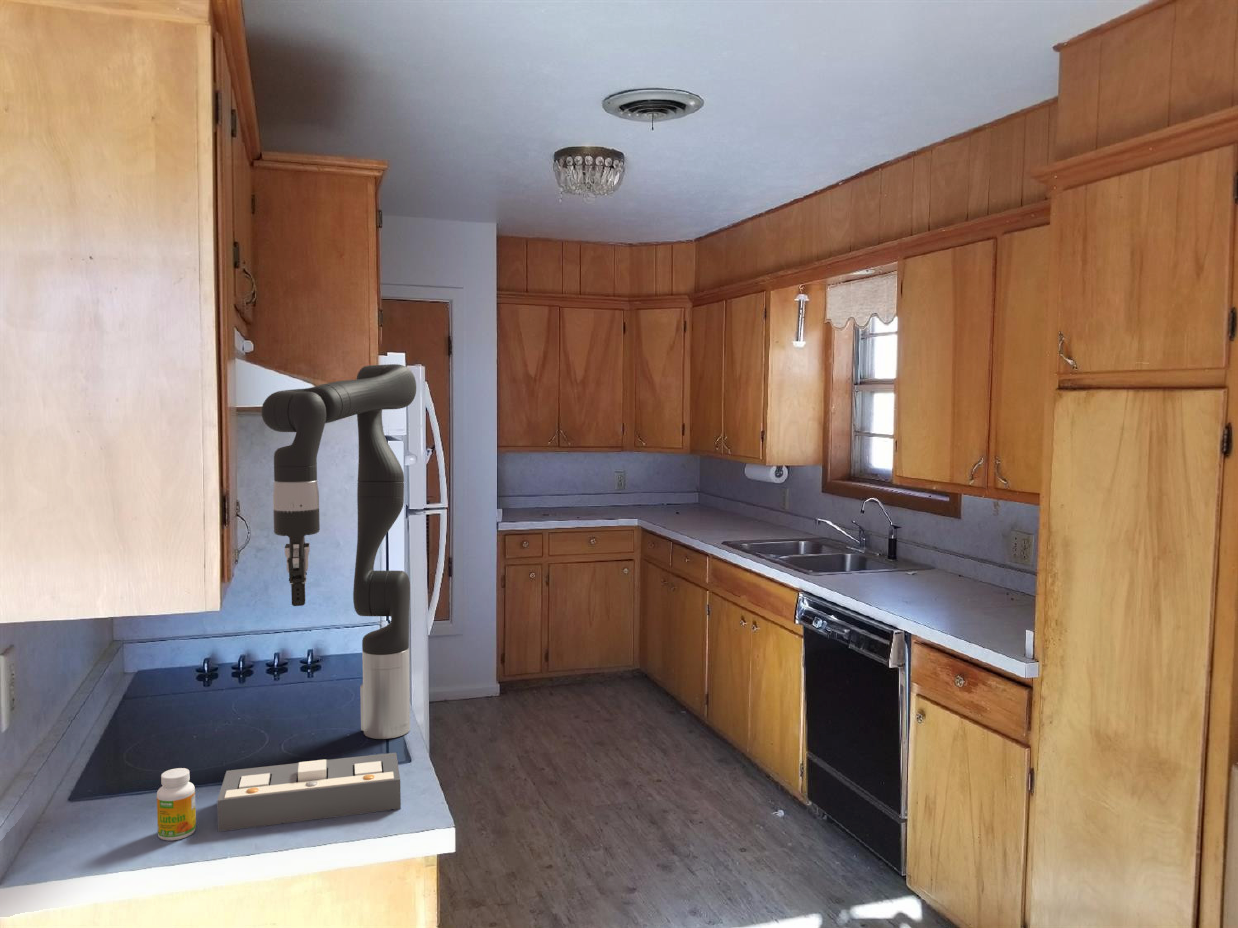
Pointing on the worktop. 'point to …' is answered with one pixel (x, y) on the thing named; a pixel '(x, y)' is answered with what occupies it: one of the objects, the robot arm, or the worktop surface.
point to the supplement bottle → (176, 805)
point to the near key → (255, 781)
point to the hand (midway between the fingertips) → (298, 604)
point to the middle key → (312, 770)
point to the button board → (308, 793)
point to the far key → (368, 768)
